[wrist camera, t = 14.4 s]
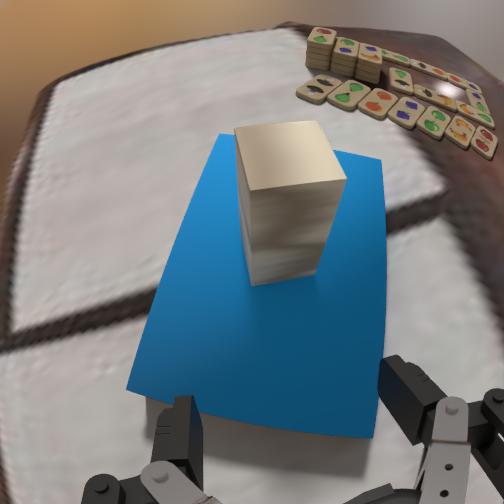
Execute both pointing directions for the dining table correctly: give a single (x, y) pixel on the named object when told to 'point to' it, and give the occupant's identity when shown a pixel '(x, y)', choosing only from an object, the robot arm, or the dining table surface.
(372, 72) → the pile of dominoes
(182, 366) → the book
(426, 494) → the robot arm
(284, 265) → the birch block
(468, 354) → the dining table surface
